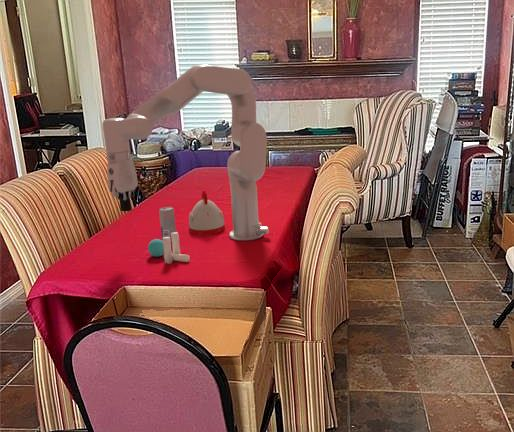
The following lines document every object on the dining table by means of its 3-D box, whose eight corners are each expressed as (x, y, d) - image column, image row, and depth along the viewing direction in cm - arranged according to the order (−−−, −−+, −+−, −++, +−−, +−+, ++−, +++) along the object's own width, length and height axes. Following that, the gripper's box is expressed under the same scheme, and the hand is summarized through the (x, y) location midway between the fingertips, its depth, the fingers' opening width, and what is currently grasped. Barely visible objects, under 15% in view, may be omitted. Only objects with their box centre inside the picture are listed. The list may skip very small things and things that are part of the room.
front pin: (168, 257, 188) (190, 260, 184) (164, 260, 186) (186, 263, 182) (167, 251, 187) (189, 253, 184) (163, 254, 185) (185, 256, 182)
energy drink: (169, 236, 210) (166, 205, 207) (179, 238, 207) (176, 207, 204) (159, 240, 206) (155, 209, 203) (168, 242, 203) (165, 211, 200)
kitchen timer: (192, 236, 210) (188, 197, 206) (186, 226, 223) (183, 189, 218) (228, 231, 213) (225, 193, 209) (220, 222, 226) (218, 185, 222)
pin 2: (181, 256, 189) (179, 232, 186) (178, 258, 186) (175, 234, 184) (175, 255, 190) (173, 231, 187) (172, 258, 187) (169, 234, 185)
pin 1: (173, 261, 184) (171, 237, 182) (170, 264, 182) (167, 239, 180) (167, 260, 185) (165, 236, 183) (163, 263, 183) (161, 238, 181)
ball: (160, 235, 192) (150, 248, 193) (151, 235, 187) (141, 248, 188) (172, 247, 191) (161, 260, 192) (163, 247, 185) (152, 260, 186)
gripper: (113, 161, 173) (121, 217, 179) (141, 152, 186) (148, 205, 192) (94, 160, 176) (102, 216, 182) (123, 152, 189) (130, 204, 195)
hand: (126, 210), depth 187 cm, fingers closed
